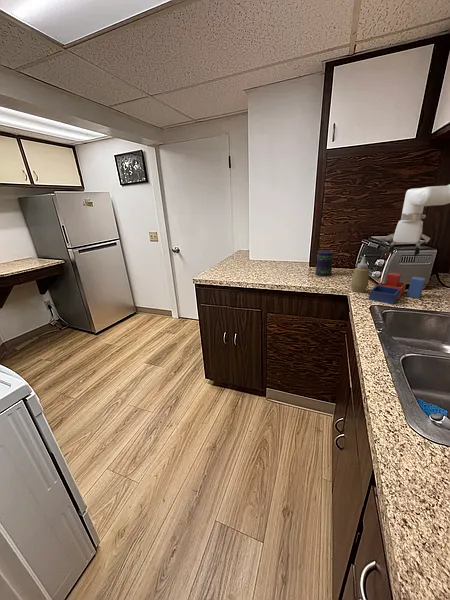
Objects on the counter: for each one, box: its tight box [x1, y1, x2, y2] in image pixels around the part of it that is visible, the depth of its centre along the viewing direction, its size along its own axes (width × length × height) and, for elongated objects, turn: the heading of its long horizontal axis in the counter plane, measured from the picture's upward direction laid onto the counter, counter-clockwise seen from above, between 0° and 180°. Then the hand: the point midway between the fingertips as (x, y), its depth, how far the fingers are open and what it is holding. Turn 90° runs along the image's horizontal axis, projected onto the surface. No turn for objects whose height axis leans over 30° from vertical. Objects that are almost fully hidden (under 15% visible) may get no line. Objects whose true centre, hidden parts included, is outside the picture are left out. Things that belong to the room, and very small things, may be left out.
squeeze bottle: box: [350, 256, 370, 293], centre depth 128 cm, size 8×8×18 cm
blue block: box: [406, 276, 426, 299], centre depth 119 cm, size 5×5×9 cm
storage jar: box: [315, 249, 335, 277], centre depth 160 cm, size 10×10×15 cm
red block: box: [385, 272, 402, 287], centre depth 126 cm, size 5×5×9 cm
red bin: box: [377, 281, 407, 298], centre depth 127 cm, size 10×10×4 cm
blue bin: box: [368, 284, 400, 305], centre depth 119 cm, size 10×10×4 cm
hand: (403, 254), depth 119 cm, fingers open, 9 cm apart
